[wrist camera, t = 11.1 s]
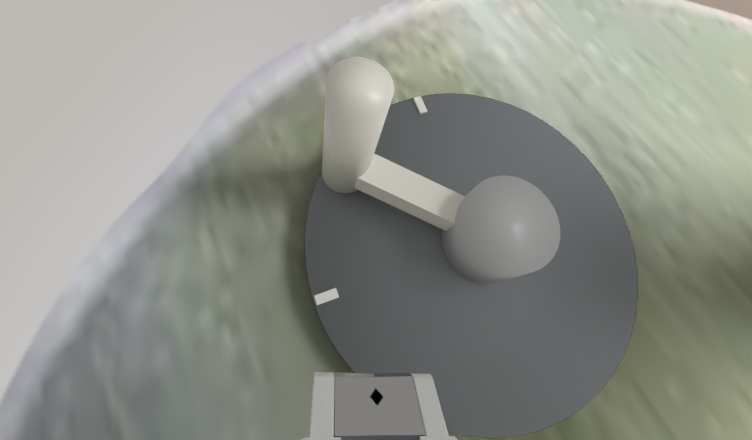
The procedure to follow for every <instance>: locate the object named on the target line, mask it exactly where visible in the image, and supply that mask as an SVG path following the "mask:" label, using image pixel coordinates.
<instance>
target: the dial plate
mask: <svg viewBox="0 0 752 440" xmlns="http://www.w3.org/2000/svg"><path fill="white" fill-rule="evenodd" d="M374 154H377V155H379V156H381V157H383V158H385V159H387V160H389V161H391V162H393V163H396V164H398V165H400V166H402V167H404V168H406V169H408V170H410V171H412V172H415V173H417V174H419V175H421V176H423V177H425V178H427V179H429V180H431V181H434V182H436V183H438V184H440V185H442V186H444V187H446V188H448V189H450V190H453V191H455V192H457V193H459V194H461V195H463V196H466V195H467V194H468V193H469V192H470V191H471V190H472V189H473V188H474V187H476V186H477V185H478V184H479V183H480V182H482V181H484V180H485V179H488V178H490V177H494V176H501V175H505V176H514V177H517V178H521V179H523V180H526V181H527V182H529V183H531V184H533V185H534V186H536V187H537V188H538V189H539V190H540V191H542V192H543V194H544V195H545V196H546V197H547V198H548V199H549V201H550V202H551V204H552V205H553V207H554V209H555V211H556V213H557V216H558V219H559V224H560V242H559V246H558V249H557V252H556V254H555V256H554V257H553V258H552V260H551V261H550V262H549V263H548V264H547V265H546V266H544V267H543V268H541V269H539V270H537V271H535V272H532V273H528V274H525V275H522V276H518V277H515V278H511V279H508V280H505V281H501V282H498V283H493V284H483V283H478V282H474V281H472V280H469V279H467V278H465V277H464V276H462V275H461V274H460V273H458V272H457V271H456V270H455V269H454V268H453V267H452V265H451V264H450V263H449V261H448V260H447V258H446V256H445V254H444V251H443V248H442V244H441V228H438V227H436V226H434V225H432V224H430V223H428V222H426V221H424V220H421V219H419V218H417V217H415V216H413V215H411V214H409V213H407V212H404V211H402V210H400V209H398V208H396V207H394V206H392V205H390V204H388V203H385V202H383V201H381V200H379V199H377V198H375V197H373V196H371V195H368V194H366V193H364V192H362V191H360V190H356V191H354V192H352V193H339V192H336V191H334V190H332V189H331V188H329V187H328V186H327V185H326V183H325V182H324V180H323V177H322V172H321V174H320V176H319V178H318V180H317V182H316V185H315V188H314V191H313V194H312V198H311V201H310V204H309V209H308V215H307V221H306V227H305V258H306V267H307V276H308V282H309V286H310V290H311V294H312V298H313V302H314V305H315V307H316V310H317V312H318V315H319V317H320V320H321V322H322V325H323V327H324V329H325V331H326V332H327V334H328V336H329V338H330V340H331V341H332V343H333V345H334V347H335V348H336V350H337V351H338V352H339V354H340V355H341V356H342V358H343V359H344V360H345V362H346V363H347V364H348V366H349V367H350V368H351V370H352V371H353V372H354V373H365V374H373V373H410V374H430V375H431V376H432V377H433V381H434V384H435V388H436V391H437V395H438V399H439V402H440V406H441V410H442V413H443V417H444V420H445V424H446V428H447V431H448V432H451V433H456V434H460V435H464V436H469V437H484V438H502V437H513V436H521V435H525V434H528V433H532V432H536V431H540V430H543V429H545V428H548V427H550V426H552V425H554V424H557V423H559V422H561V421H563V420H565V419H566V418H568V417H569V416H571V415H572V414H574V413H575V412H577V411H578V410H580V409H582V408H583V407H584V406H585V405H586V404H587V403H588V402H589V401H590V400H592V399H593V398H594V397H595V396H596V395H597V394H598V393H599V392H600V391H601V389H602V388H603V387H604V385H605V384H606V383H607V382H608V380H609V379H610V378H611V377H612V375H613V373H614V372H615V370H616V368H617V366H618V365H619V363H620V361H621V359H622V357H623V355H624V353H625V350H626V348H627V345H628V342H629V340H630V337H631V334H632V329H633V325H634V321H635V316H636V308H637V298H638V279H637V267H636V260H635V253H634V248H633V245H632V241H631V237H630V233H629V230H628V227H627V225H626V222H625V219H624V217H623V214H622V211H621V209H620V207H619V206H618V204H617V202H616V200H615V198H614V196H613V194H612V192H611V190H610V189H609V187H608V186H607V184H606V182H605V181H604V179H603V178H602V176H601V175H600V174H599V172H598V171H597V170H596V169H595V167H594V166H593V165H592V163H591V162H590V161H589V160H588V159H587V158H586V157H585V155H584V154H583V153H582V152H581V151H580V150H579V149H578V148H577V147H576V146H575V145H574V144H573V143H571V142H570V141H569V140H568V139H567V138H566V137H564V136H563V135H562V134H561V133H560V132H558V131H557V130H555V129H554V128H553V127H551V126H550V125H548V124H547V123H545V122H544V121H542V120H540V119H539V118H537V117H535V116H533V115H531V114H530V113H528V112H526V111H524V110H521V109H519V108H517V107H514V106H512V105H510V104H507V103H504V102H500V101H497V100H494V99H491V98H485V97H480V96H475V95H467V94H454V93H452V94H433V95H427V96H418V97H414V98H412V99H408V100H405V101H402V102H398V103H396V104H394V105H392V106H390V107H389V110H388V113H387V116H386V119H385V122H384V125H383V128H382V131H381V134H380V137H379V140H378V143H377V146H376V150H375V153H374Z"/></svg>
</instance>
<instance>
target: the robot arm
mask: <svg viewBox="0 0 752 440" xmlns="http://www.w3.org/2000/svg"><path fill="white" fill-rule="evenodd" d="M301 440H458V439H457V438H456V437H455V436H449V435H448V431H447V428H446V424H445V420H444V417H443V413H442V410H441V406H440V402H439V399H438V395H437V391H436V388H435V384H434V381H433V377H432V376H431V375H430V374H410V373H373V374H365V373H341V372H335V373H334V372H314V376H313V386H312V399H311V412H310V425H309V437H303V438H301Z"/></svg>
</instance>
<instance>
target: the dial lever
mask: <svg viewBox="0 0 752 440" xmlns="http://www.w3.org/2000/svg"><path fill="white" fill-rule="evenodd" d="M393 94H394V83H393V80H392V77H391V76H390V74H389V73H388V71H387V70H386V69H385V68H384V67H383V66H382V65H380V64H379V63H377V62H376V61H374V60H371V59H368V58H364V57H348V58H345V59H342V60H340V61H338V62H337V63H335V64H334V65H333V66H332V67H331V69H330V70H329V72H328V75H327V79H326V95H325V117H324V138H323V159H322V177H323V180H324V182H325V183H326V185H327V186H328V187H329V188H331V189H332V190H334V191H336V192H339V193H352V192H354V191H356V190H360V191H362V192H364V193H366V194H368V195H371V196H373V197H375V198H377V199H379V200H381V201H383V202H385V203H388V204H390V205H392V206H394V207H396V208H398V209H400V210H402V211H404V212H407V213H409V214H411V215H413V216H415V217H417V218H419V219H421V220H424V221H426V222H428V223H430V224H432V225H434V226H436V227H438V228H441V244H442V248H443V251H444V254H445V256H446V258H447V260H448V261H449V263H450V264H451V265H452V267H453V268H454V269H455V270H456V271H457V272H458V273H460V274H461V275H462V276H464V277H465V278H467V279H469V280H472V281H474V282H478V283H483V284H493V283H498V282H501V281H505V280H508V279H511V278H515V277H518V276H522V275H525V274H528V273H532V272H535V271H537V270H539V269H541V268H543V267H544V266H546V265H547V264H548V263H549V262H550V261H551V260H552V258H553V257H554V256H555V254H556V252H557V249H558V246H559V242H560V224H559V219H558V216H557V213H556V211H555V209H554V207H553V205H552V204H551V202H550V201H549V199H548V198H547V197H546V196H545V195H544V194H543V192H542V191H540V190H539V189H538V188H537V187H536V186H534V185H533V184H531V183H529V182H527V181H526V180H523V179H521V178H517V177H514V176H505V175H501V176H494V177H490V178H488V179H485V180H484V181H482V182H480V183H479V184H478V185H477V186H476V187H474V188H473V189H472V190H471V191H470V192H469V193H468V194H467V195H466V196H463V195H461V194H459V193H457V192H455V191H453V190H450V189H448V188H446V187H444V186H442V185H440V184H438V183H436V182H434V181H431V180H429V179H427V178H425V177H423V176H421V175H419V174H417V173H415V172H412V171H410V170H408V169H406V168H404V167H402V166H400V165H398V164H396V163H393V162H391V161H389V160H387V159H385V158H383V157H381V156H379V155H377V154H374V153H375V150H376V146H377V143H378V140H379V137H380V134H381V131H382V128H383V125H384V122H385V119H386V116H387V113H388V110H389V107H390V104H391V101H392V98H393Z"/></svg>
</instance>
